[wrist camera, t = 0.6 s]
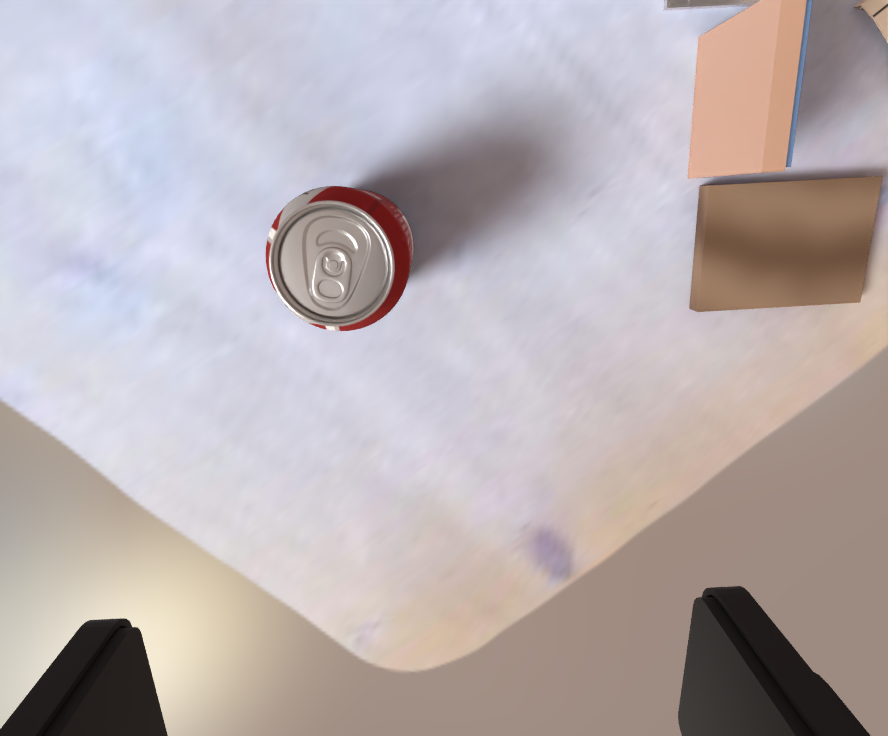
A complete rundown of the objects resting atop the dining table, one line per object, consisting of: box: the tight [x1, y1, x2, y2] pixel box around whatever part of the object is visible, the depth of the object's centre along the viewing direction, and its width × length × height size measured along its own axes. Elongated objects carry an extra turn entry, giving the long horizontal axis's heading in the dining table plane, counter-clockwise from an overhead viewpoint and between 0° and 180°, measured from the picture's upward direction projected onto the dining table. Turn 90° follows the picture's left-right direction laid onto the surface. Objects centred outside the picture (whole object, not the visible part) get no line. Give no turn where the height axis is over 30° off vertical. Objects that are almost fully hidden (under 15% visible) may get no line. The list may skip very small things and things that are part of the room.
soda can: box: [266, 186, 414, 331], centre depth 30 cm, size 7×7×12 cm
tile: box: [688, 0, 812, 179], centre depth 30 cm, size 8×2×8 cm, turn 3°
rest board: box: [690, 176, 882, 312], centre depth 36 cm, size 8×11×1 cm
